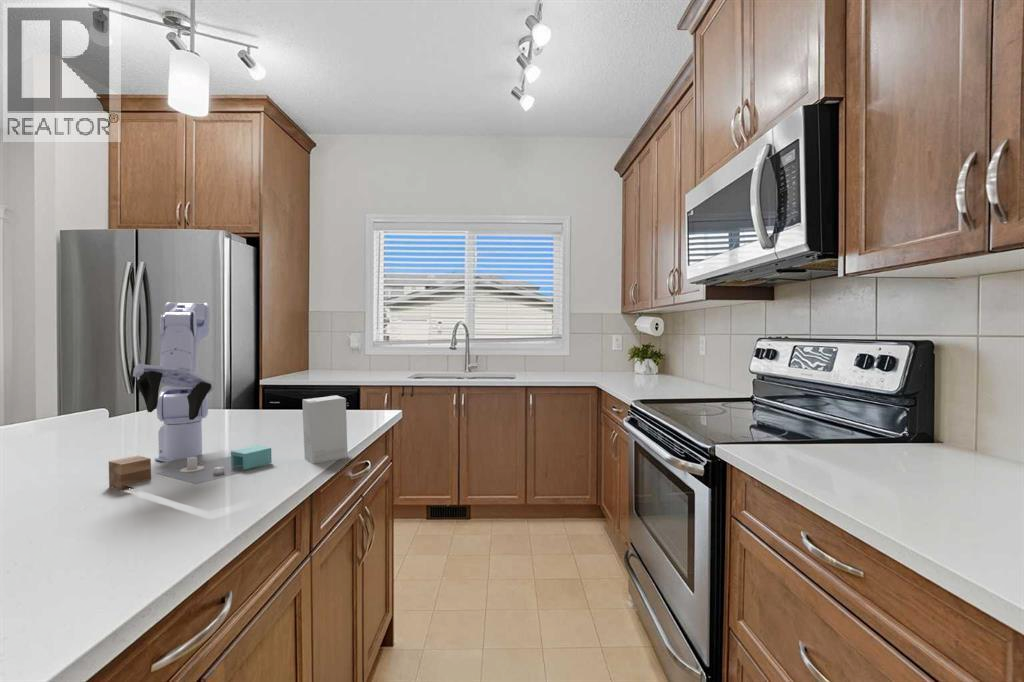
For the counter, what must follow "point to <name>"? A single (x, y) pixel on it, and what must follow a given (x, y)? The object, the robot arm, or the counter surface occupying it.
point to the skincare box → (325, 429)
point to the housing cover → (251, 457)
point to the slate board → (206, 470)
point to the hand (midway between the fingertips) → (173, 413)
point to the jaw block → (129, 471)
